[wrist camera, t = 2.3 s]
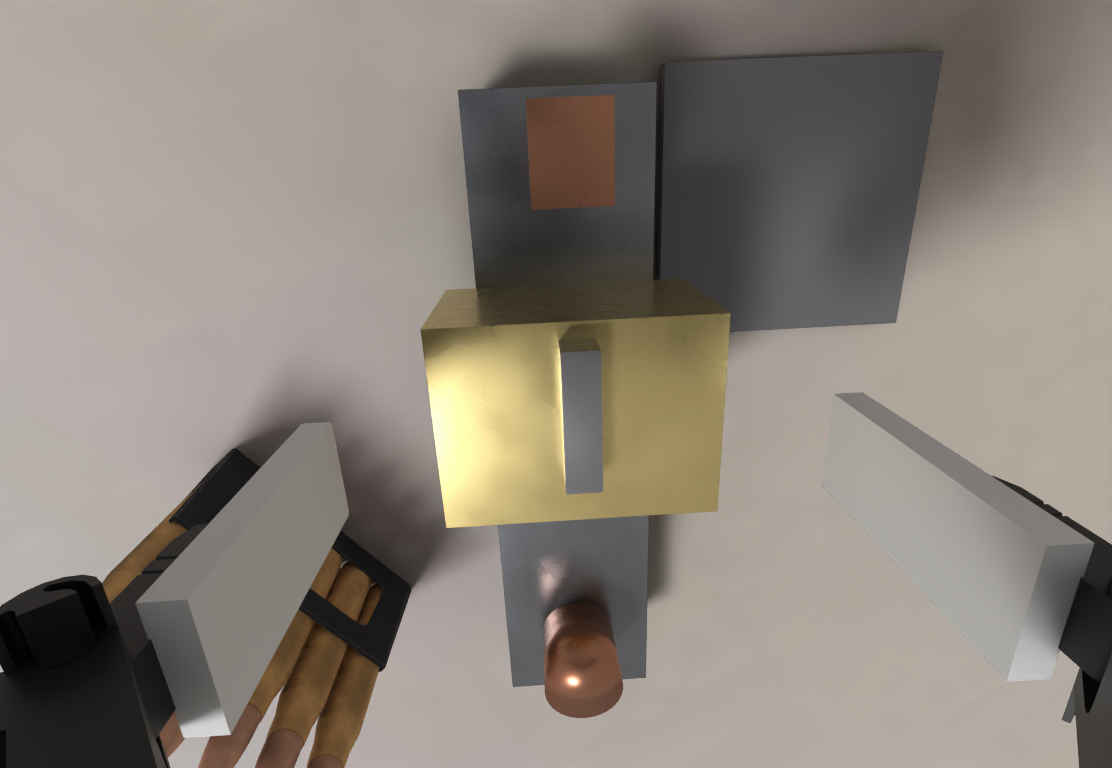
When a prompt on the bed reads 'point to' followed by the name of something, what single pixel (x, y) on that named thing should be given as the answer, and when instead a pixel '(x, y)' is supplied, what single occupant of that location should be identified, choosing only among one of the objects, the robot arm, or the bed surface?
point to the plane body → (548, 259)
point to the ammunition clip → (295, 640)
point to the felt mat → (794, 183)
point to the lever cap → (577, 400)
